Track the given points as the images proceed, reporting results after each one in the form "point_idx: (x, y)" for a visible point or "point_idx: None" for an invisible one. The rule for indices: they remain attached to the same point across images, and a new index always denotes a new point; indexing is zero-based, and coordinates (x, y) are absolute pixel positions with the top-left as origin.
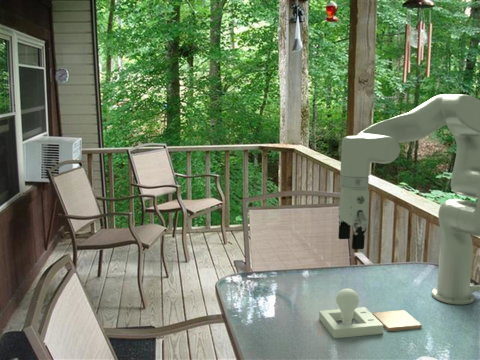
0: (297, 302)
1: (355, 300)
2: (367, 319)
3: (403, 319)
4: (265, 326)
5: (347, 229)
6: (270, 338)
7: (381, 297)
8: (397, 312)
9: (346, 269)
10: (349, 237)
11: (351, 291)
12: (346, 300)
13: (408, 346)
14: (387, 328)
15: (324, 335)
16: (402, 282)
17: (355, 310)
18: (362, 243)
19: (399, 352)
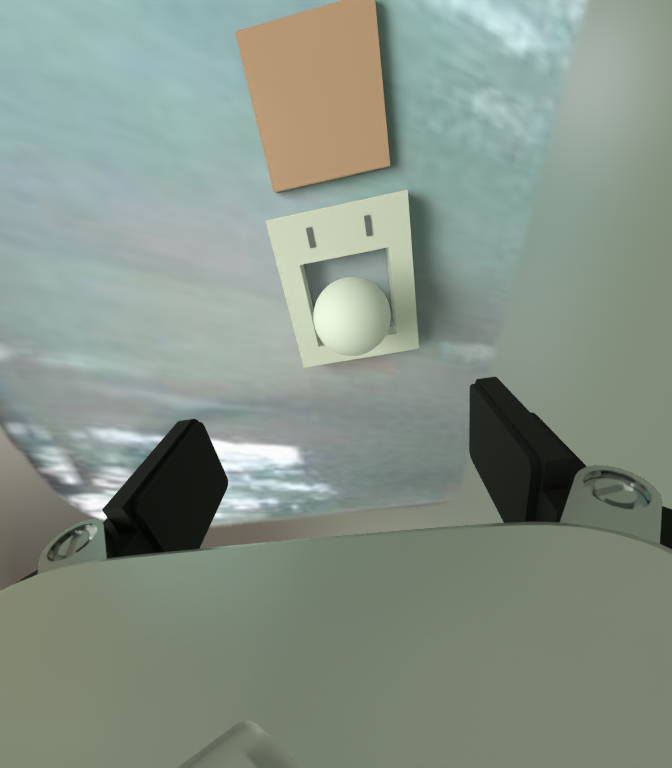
0: (209, 394)
1: (385, 299)
2: (363, 237)
3: (325, 71)
4: (345, 464)
5: (169, 496)
6: (399, 460)
7: (99, 101)
8: (263, 78)
9: None
10: (196, 425)
11: (366, 318)
12: (386, 332)
13: (496, 123)
14: (384, 167)
15: (396, 359)
16: None
17: (295, 261)
18: (543, 422)
19: (524, 171)
